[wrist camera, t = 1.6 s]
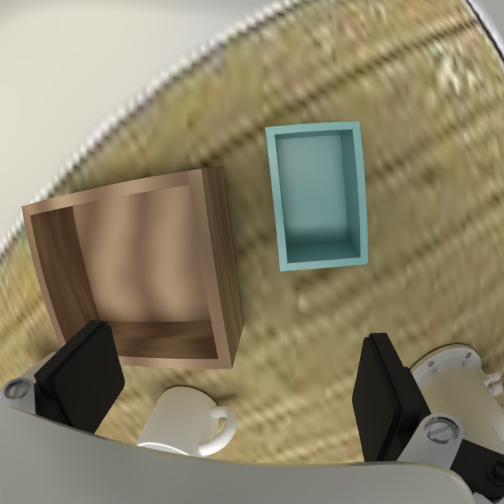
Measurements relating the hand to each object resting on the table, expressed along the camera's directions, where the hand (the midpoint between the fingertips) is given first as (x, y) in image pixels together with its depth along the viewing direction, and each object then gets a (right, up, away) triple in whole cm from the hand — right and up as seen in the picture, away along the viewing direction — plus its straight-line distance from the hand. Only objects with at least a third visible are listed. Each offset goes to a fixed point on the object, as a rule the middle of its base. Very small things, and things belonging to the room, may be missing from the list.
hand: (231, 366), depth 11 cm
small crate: (+6, +10, +18) cm, 21 cm away
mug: (-6, -15, +26) cm, 31 cm away
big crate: (-10, +3, +21) cm, 24 cm away
